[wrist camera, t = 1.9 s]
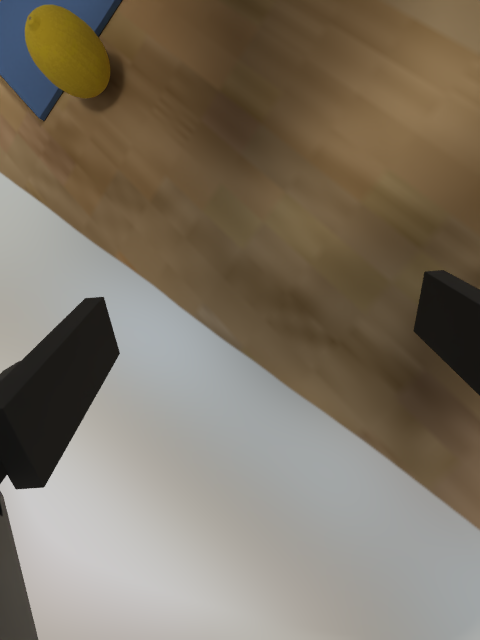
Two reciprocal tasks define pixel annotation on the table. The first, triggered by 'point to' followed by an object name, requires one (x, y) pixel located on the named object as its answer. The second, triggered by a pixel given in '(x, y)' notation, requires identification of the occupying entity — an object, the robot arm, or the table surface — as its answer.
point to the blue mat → (15, 60)
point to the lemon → (67, 51)
